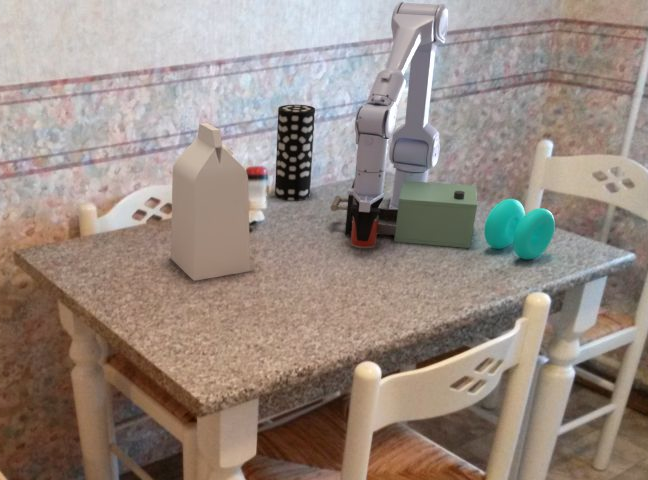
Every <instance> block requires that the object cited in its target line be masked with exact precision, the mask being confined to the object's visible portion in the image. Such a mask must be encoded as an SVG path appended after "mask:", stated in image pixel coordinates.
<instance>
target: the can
mask: <svg viewBox="0 0 648 480" xmlns="http://www.w3.org/2000/svg"><path fill="white" fill-rule="evenodd" d="M378 219H379V216H378V215H377V217H376V218H375V220H374V223H373V226H372V229H371V233H370V236H369V239H368V241H358V240H357V235H356V225H355V220H354V217H353V224H352V231H351V234H350V246H352V247H353V248H356V249H361V250H368V249H372V248H375V247H376V245H377V236H378V234H377V227H378Z"/></svg>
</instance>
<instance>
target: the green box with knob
mask: <svg viewBox="0 0 648 480" xmlns="http://www.w3.org/2000/svg"><path fill="white" fill-rule="evenodd" d="M477 195H478V194H477V186H476V185H471V184H470V185H469V184H467V185H466V184H459V183H457V184H455V183H445V182H444V183H442V182H431V181H430V182H428V181H427V182H416V181H403V183H402V188H401V193H400V198H399V205H398V213H397V222H396V230H395V235H394V240H393V241H394V243H407V244H416V245H417V244H418V245H429V246H439V247H450V248H463V249H471V244H472V238H473V232H474V226H475V222H476V221H475V220H476V215H477V209H478V196H477Z"/></svg>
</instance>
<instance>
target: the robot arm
mask: <svg viewBox="0 0 648 480" xmlns="http://www.w3.org/2000/svg"><path fill="white" fill-rule="evenodd" d="M449 16H450V15H449V10H448V8H447V6H446V4H445V3H440V4H435V3H433V4H432V3H415V2H404V1H399V2H398V3H397V4H396V5H395V7H394V9H393V11H392V15H391V21H390V24H391V25H390V26H391V27H390V29H391V33H392V34H391V35H392V39H393V44H392V47H391V50H390V54H389V57H388V59H387V64H386V67H385V69H383V70H380V71H379V72H378V73H377V75H376V78H375V80H374V83H373V85H372V88H371V90H370V92H369V94H368V95H369V96H368V97H367V100H366V103H365V104H364V105H361V106H360V107H359V108H358V110H357V112H356V115H355V120H354V131H355V144H356V145H357V151H356V160H355V171H354V180H355V183H354V188H352V187H350V188H348V189H347V195H349V194H350V195H353V196H354V197H355V201H356V203H357V205H353V204H352V205H351V212H352V214H353V217H354V220H355V225H356V235H357V240H358V241H368V239H369V236H370V233H371V229H372V226H373V223H374V220H375V218H376V217H377V215H378V214H379V212H380V208H381V207H380V205H381V203H382V202H383V201H384V196H385V191H384V190H385V188H384V187H385V179H386V171H387V170H386V169H387V160H388V158H389V161H390V163H391V164H392V165H393V167H392V168H393V169H395V171H394V172H395V173H394V181H393V182H394V183H393V188H392V195H391V197H390V201H389V205H388V209H398V205H399V198H400V193H401V188H402V183H403V181H416V182H428V180H429V179H428V178H429V177H428V176H429V170H433V168H435V166H436V165H437V163H438V161H439V156H440V151H441V150H440V149H441V148H440V147H441V146H440V145H441V144H440V132H439V131H438V130H437V129H436V128H434V127H433V125H431V124H430V123H429V115H430V106H431V96H432V89H433V87H432V86H433V78H434V69H435V60H436V51H437V48H438V46H441V45H443V44H445V43H446V39H447V34H448V25H449ZM409 65H410V67H409ZM408 67H409V78H408V87H407V99H406V109H405V110H406V111H405V120H404V123H403V124H401V125H399V126H398V127H397V128H396V129H395V127H396V122H397V118H398V113H399V110H398V106H399V103H400V102H401V101H400V100H401V98H402V96H403V94H404V91H405V88H406V85H407V80H406V78H405V73H406V71H407V70H408ZM391 136H392V138H391ZM390 138H391V143H390V146H389V141H390ZM388 152H389V153H388Z"/></svg>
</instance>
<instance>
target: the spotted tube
mask: <svg viewBox="0 0 648 480" xmlns="http://www.w3.org/2000/svg"><path fill="white" fill-rule="evenodd" d="M277 110H278V111H277V128H276V129H277V130H276V131H277V132H276V133H277V134H276V154H275V155H276V157H275V180H274V182H275V183H274V196H275V197H276V198H277V199H280V200H284V201H304V200H307V199H308V198H310V197H311V183H312V181H311V180H312V167H313V154H314V153H313V152H314V151H313V149H314V137H315V136H314V135H315V121H316V108H315V107H314V106H311V105H307V104H284V105H281V106H279V107H278V108H277Z"/></svg>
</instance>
